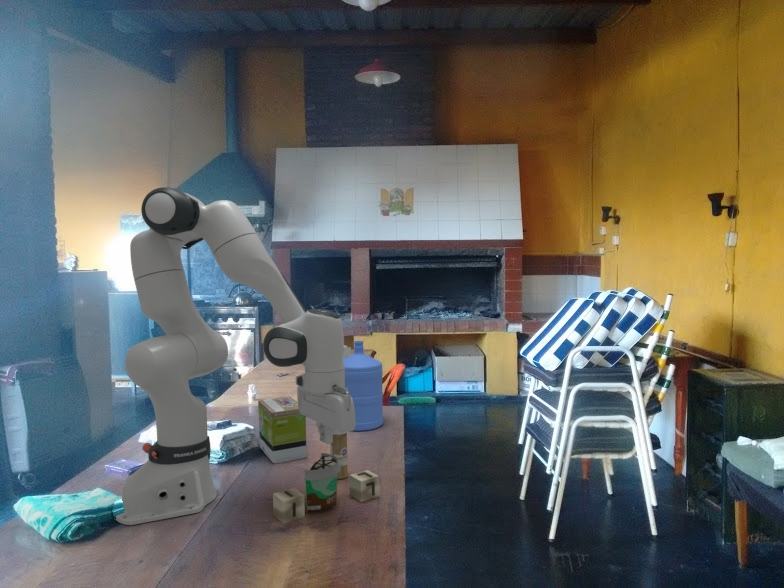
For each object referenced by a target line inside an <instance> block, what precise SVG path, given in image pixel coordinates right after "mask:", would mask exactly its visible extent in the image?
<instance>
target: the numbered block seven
mask: <svg viewBox="0 0 784 588" xmlns="http://www.w3.org/2000/svg"><path fill="white" fill-rule="evenodd" d="M349 495H350V497H352V496H353V497H352V498H353V499H356V500H357V501H359V502H360V503H363V501H364V502H366V501H370V500H373V499H377V498H379V497H380V476H379V475H378V474H376V473H374V472H372V471H371V470H368V469H366V470H362V471H359V472H354V473H352V474H349Z"/></svg>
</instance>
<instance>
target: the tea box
mask: <svg viewBox="0 0 784 588" xmlns="http://www.w3.org/2000/svg"><path fill="white" fill-rule="evenodd" d="M257 401H258V403H257V404H258V405H257V407H258V426H259V427H258V432H259V448H260V449H261V450H262V451H263V453H264V454H265V455H266V457H267V458H268V459H269V460H270V461H271V462H272V463H276V464H281V462H282V463H286V462H292V461H298V460H302V459H306V458H307V457H308V456H307V455H308V454H307V453H308V451H307V423H306V421H307V417H306V416H304V415H302V414H300V411H299V409H298V401H297V400H295V399H294V398H292V397H291V396H281V397H274V398H269V399H261V400H257Z"/></svg>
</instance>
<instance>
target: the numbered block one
mask: <svg viewBox="0 0 784 588" xmlns="http://www.w3.org/2000/svg"><path fill="white" fill-rule="evenodd" d="M272 506H273V507H272V510H273V512H272V513H273V514H272V515H273V517H275V518H276V519H277V520H278V521H279V522H281V523H282V525H283V524H287V523H291V522H295V521H298V520H301V519H304V518H306V515H305V512H306V510H305V509H306V508H305V506H306V505H305V494H303V493H302V492H300V491H299V490H297V488H295V487H291V488H289V489H284V490H282V491H277V492H273V493H272Z"/></svg>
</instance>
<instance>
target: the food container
mask: <svg viewBox="0 0 784 588" xmlns="http://www.w3.org/2000/svg"><path fill="white" fill-rule="evenodd" d="M320 454H321V455H320V458H318V460H317V461H315V462H314V463H313V465H312V466H311V468H310V469H308V470H307V469H305V470H304V476H303V477H304V481H305V482H304V483H305V495H306V496H305V497H306V498H305V499H306V512H307V513H308V514H316V513H317V514H318V513H323V512H327V511H329V510H332V509H333V508H335V507H336V505H337V495H338V494H337V491H338V489H337V488H338V479H337V477H338V473H339V472H340V470H341V467H340V463H339V461H338V458H337V457H336V456H334V455H331V454H330V453H327V452H320Z"/></svg>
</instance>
